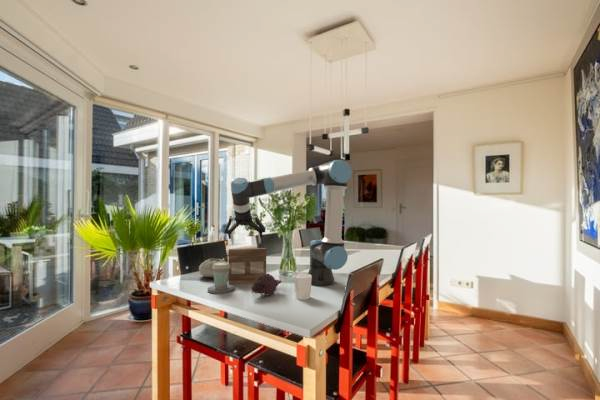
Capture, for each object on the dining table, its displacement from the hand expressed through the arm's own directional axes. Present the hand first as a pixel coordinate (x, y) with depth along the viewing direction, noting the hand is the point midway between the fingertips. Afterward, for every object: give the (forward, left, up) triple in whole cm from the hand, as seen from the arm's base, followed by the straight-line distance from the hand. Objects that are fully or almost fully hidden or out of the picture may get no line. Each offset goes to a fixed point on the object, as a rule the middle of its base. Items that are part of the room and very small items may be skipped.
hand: (246, 242), depth 152 cm
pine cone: (-17, 0, -23) cm, 29 cm away
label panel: (+8, -6, -23) cm, 25 cm away
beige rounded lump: (+30, +2, -23) cm, 38 cm away
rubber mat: (+4, +12, -23) cm, 26 cm away
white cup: (-31, -11, -23) cm, 40 cm away
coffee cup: (+4, +12, -22) cm, 25 cm away
